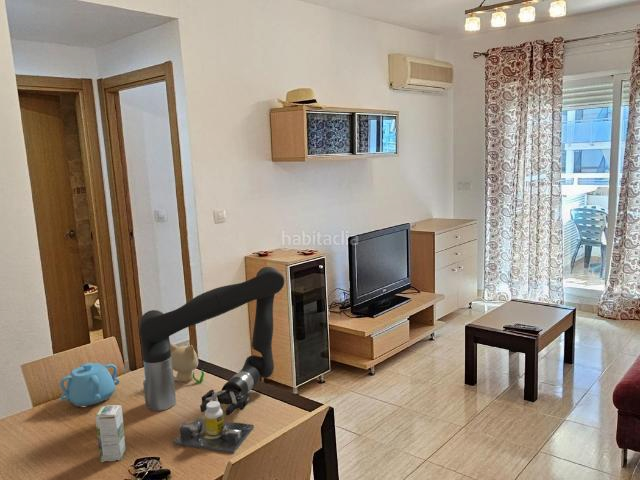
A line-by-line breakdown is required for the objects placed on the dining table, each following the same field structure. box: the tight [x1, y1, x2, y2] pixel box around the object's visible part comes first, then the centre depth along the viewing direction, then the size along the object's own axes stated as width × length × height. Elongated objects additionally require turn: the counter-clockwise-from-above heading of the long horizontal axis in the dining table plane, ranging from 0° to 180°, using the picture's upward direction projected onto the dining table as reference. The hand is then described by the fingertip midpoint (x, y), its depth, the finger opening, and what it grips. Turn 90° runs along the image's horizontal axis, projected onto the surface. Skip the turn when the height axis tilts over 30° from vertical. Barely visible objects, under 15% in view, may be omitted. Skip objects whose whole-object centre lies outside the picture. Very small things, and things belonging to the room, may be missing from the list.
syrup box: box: [94, 404, 127, 462], centre depth 147 cm, size 6×6×14 cm
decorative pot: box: [59, 362, 120, 407], centre depth 183 cm, size 16×16×14 cm
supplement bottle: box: [204, 400, 224, 438], centre depth 154 cm, size 5×5×10 cm
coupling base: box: [172, 417, 255, 454], centre depth 156 cm, size 20×14×5 cm
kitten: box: [170, 342, 205, 384], centre depth 195 cm, size 15×10×15 cm
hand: (214, 411), depth 154 cm, fingers open, 8 cm apart
